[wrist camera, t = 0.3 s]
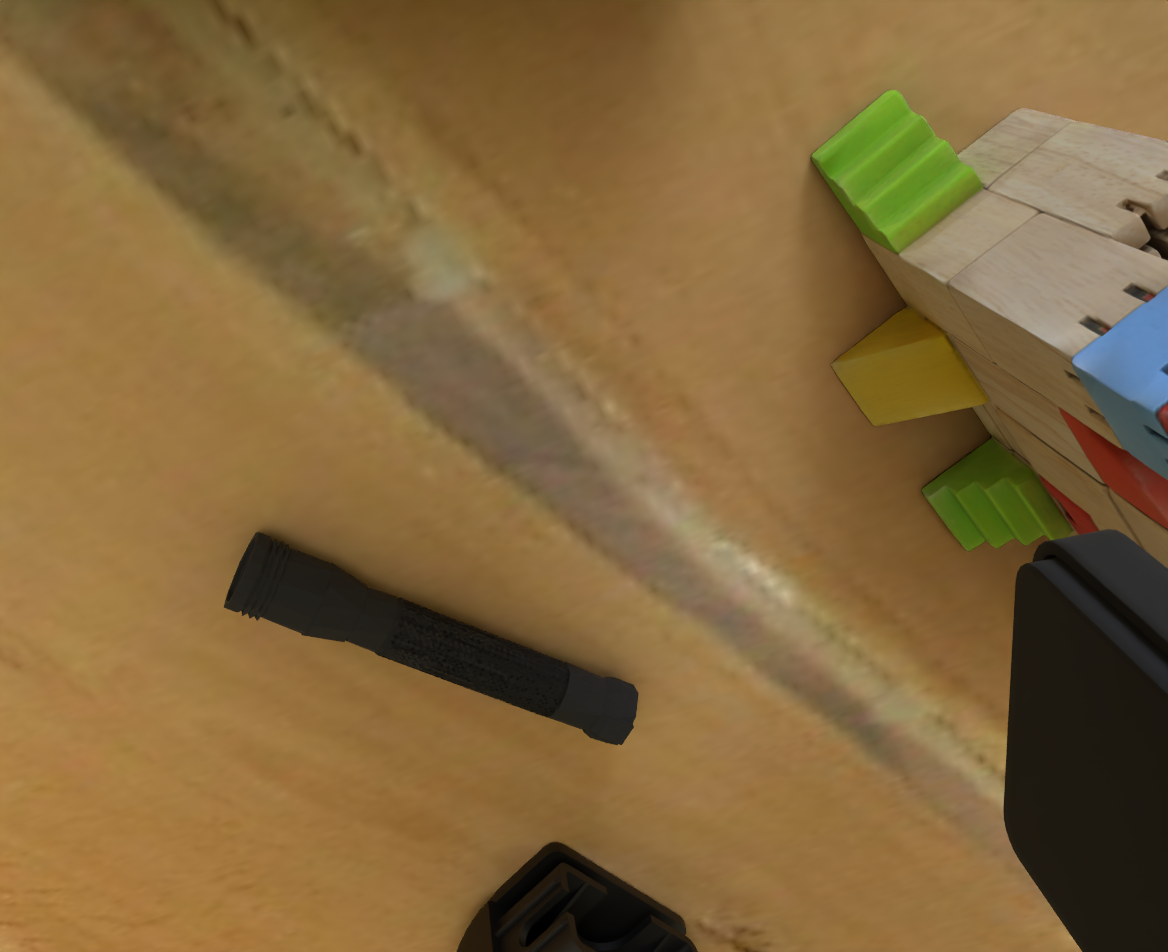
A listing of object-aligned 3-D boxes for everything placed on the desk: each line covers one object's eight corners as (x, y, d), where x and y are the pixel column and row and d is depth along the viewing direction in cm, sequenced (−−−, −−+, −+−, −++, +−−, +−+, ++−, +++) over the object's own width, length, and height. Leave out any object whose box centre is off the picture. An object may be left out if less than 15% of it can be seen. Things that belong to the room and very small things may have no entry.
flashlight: (262, 517, 41) (252, 557, 39) (632, 666, 47) (647, 710, 44) (229, 581, 42) (218, 624, 39) (597, 719, 48) (609, 765, 45)
